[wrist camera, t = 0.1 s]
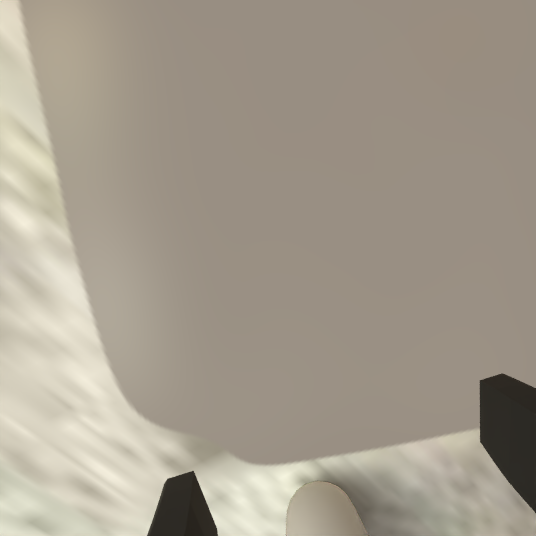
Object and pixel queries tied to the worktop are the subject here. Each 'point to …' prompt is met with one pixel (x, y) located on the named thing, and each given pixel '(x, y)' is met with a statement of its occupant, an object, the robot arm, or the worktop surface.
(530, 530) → the worktop surface
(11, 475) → the worktop surface
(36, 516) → the worktop surface
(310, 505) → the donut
